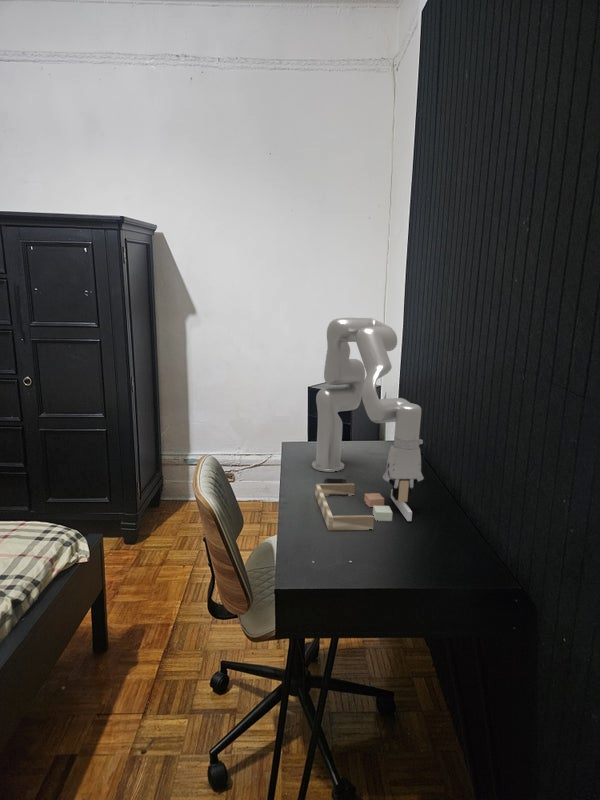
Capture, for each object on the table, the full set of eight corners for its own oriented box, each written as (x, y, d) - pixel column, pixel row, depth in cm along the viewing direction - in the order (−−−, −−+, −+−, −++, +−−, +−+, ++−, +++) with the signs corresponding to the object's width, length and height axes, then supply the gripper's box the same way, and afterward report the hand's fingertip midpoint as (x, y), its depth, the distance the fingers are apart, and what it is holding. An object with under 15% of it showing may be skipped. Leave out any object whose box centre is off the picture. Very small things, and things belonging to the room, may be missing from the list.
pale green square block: (372, 514, 167) (373, 505, 167) (388, 514, 168) (389, 505, 167) (375, 521, 162) (376, 512, 162) (391, 521, 163) (392, 512, 162)
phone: (345, 479, 194) (348, 495, 179) (345, 482, 194) (348, 498, 180) (324, 478, 194) (325, 494, 180) (324, 481, 194) (325, 497, 180)
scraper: (388, 497, 179) (390, 469, 177) (396, 497, 180) (399, 469, 177) (404, 521, 162) (407, 490, 160) (414, 521, 162) (417, 490, 160)
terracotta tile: (364, 502, 177) (364, 493, 176) (378, 501, 178) (379, 493, 177) (369, 508, 172) (369, 499, 171) (383, 507, 173) (384, 499, 172)
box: (315, 495, 180) (315, 483, 179) (353, 494, 182) (354, 483, 181) (328, 530, 155) (329, 517, 154) (373, 529, 156) (373, 516, 156)
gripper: (427, 439, 171) (422, 493, 175) (377, 439, 169) (373, 494, 173) (435, 446, 163) (430, 503, 167) (383, 446, 161) (379, 503, 165)
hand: (401, 498), depth 170 cm, fingers closed on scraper, 3 cm apart
